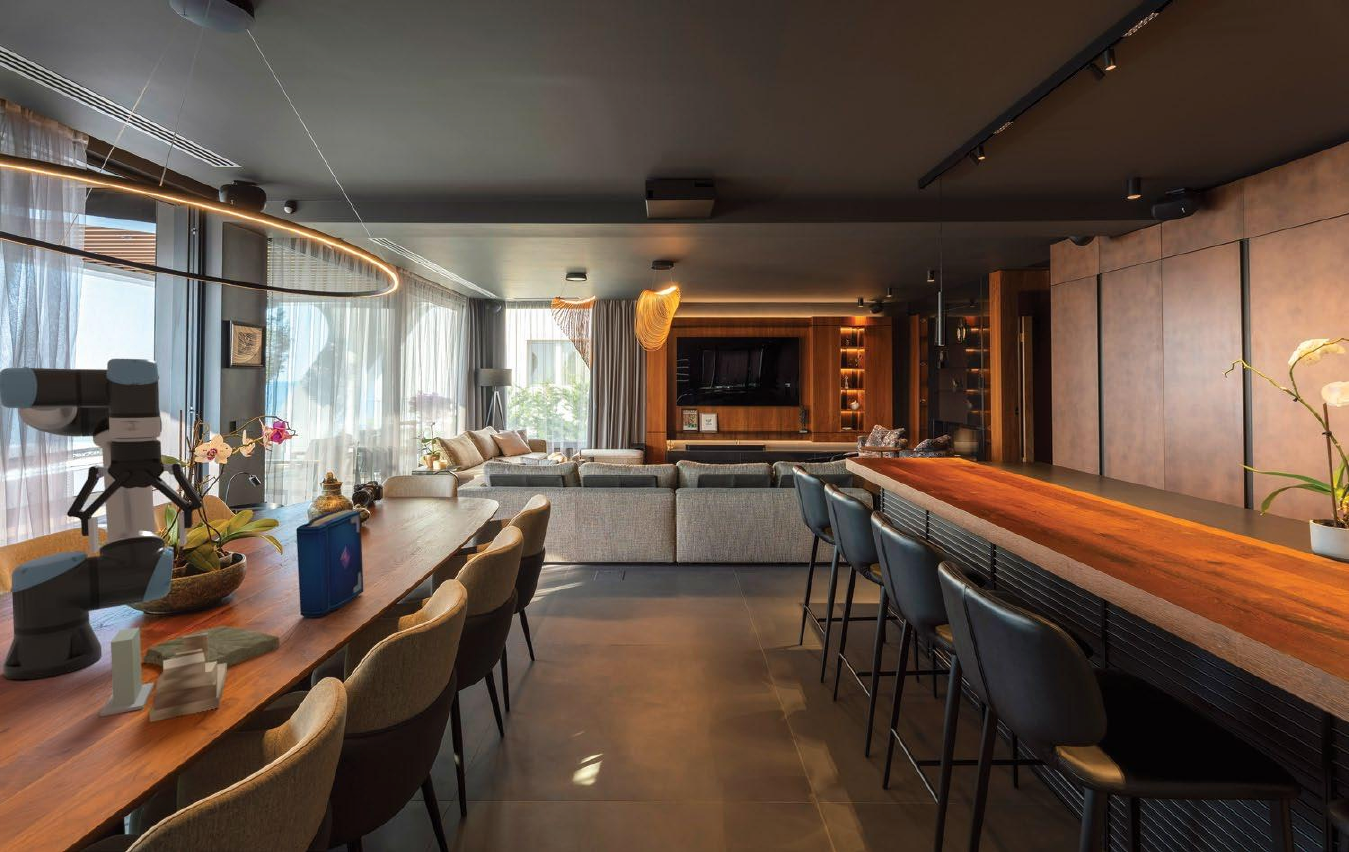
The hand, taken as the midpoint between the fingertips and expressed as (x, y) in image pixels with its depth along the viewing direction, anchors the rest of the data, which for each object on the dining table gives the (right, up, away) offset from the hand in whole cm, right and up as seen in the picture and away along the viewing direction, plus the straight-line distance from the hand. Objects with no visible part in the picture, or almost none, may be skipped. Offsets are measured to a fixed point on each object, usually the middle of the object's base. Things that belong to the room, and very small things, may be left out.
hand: (140, 548), depth 126 cm
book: (+10, -26, +51) cm, 58 cm away
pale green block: (+1, -27, -4) cm, 28 cm away
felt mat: (+1, -28, -4) cm, 28 cm away
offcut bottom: (+14, -26, -7) cm, 30 cm away
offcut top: (+14, -21, -7) cm, 26 cm away
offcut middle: (+14, -24, -7) cm, 28 cm away
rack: (+11, -28, -1) cm, 30 cm away
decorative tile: (+1, -28, +18) cm, 33 cm away
